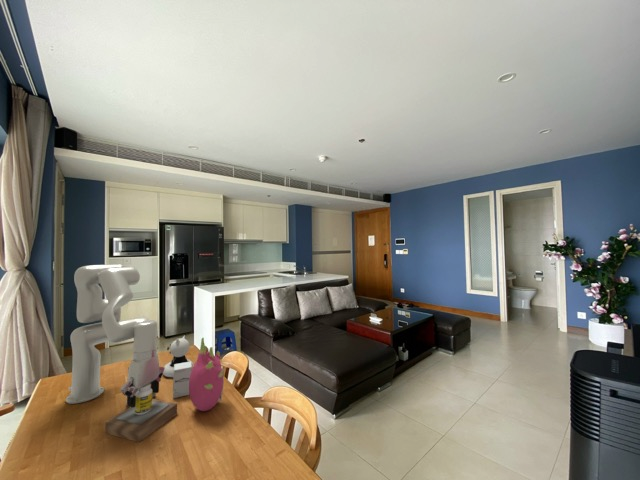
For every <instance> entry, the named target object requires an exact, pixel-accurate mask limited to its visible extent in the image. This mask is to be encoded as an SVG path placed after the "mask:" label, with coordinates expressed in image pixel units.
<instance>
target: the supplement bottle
mask: <svg viewBox="0 0 640 480" xmlns="http://www.w3.org/2000/svg"><path fill="white" fill-rule="evenodd" d="M150 387H151V383H148V384H146V385H145V386H143V387H141V388H139V389H138V391H137V393H136V406H135V414H137V415H142V414H145V413H147V412H149V411H150V410H151V408H152V399H153V398H152V389H151V388H150Z"/></svg>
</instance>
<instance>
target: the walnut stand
mask: <svg viewBox="0 0 640 480" xmlns="http://www.w3.org/2000/svg"><path fill="white" fill-rule="evenodd" d="M177 414H178V403H176V402H171V401H166V400H161V399H156V398H152V408H151V410H150V411H149V412H147V413H145V414H142V415H137V414H135V407H128V408H126V409H124V410H123V411H121V412H120V413H118V414H116V415H114V416H113V417H111V418H109V419H107V420H106V421H105V431H104V432H105V434H108V435H111V436H114V437H115V436H116V437H118V438H122V439H125V440H130V441H134V442H137V443H141V442H142V441H143V440H144V439H146V438H147V437H148V436H149V435H151V434H153V432H155V431H156V430H157V429H159V428H160V427H162V426H163V425H164V424H165V423H167V422H168V421H169V420H171V419H172V418H174V417H175V416H177Z"/></svg>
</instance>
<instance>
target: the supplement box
mask: <svg viewBox="0 0 640 480" xmlns="http://www.w3.org/2000/svg"><path fill="white" fill-rule="evenodd" d="M191 361H192V360H191ZM191 361H190V362H185V363H179V364H174V376H173V377H172V378H173V379H172V381H173V383H172V399H177V398H180V397H184V396H190V394H189V379H190V374H191V371H192V370H191V369H193V368H192V363H191Z"/></svg>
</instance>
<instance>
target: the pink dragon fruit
mask: <svg viewBox="0 0 640 480" xmlns="http://www.w3.org/2000/svg"><path fill="white" fill-rule="evenodd" d="M204 340H205V338H204V337H202V338H201V339H200V348H199V352H198V354H197V358H196V359H197V360H196V361H195V363H193V368H192V370H191V374H190V379H189V394H190V395H189V398H190V401H191V403H192V404H193V406H194V407H195V408H196V409H197V410H198V411H201V412H206V411H210V410H211V409H212V408H214V406H216V404H217V403H218V402H219V404H221V403H222V400H223V391H224V383H225V382H224V375H225V374H224V369H223V368H222V367H223V366H222V364H221V351H219V350H217V351H216V353H215V354H214V349H213V347H212V346H211V347H208V346H206V345H205V341H204Z"/></svg>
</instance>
